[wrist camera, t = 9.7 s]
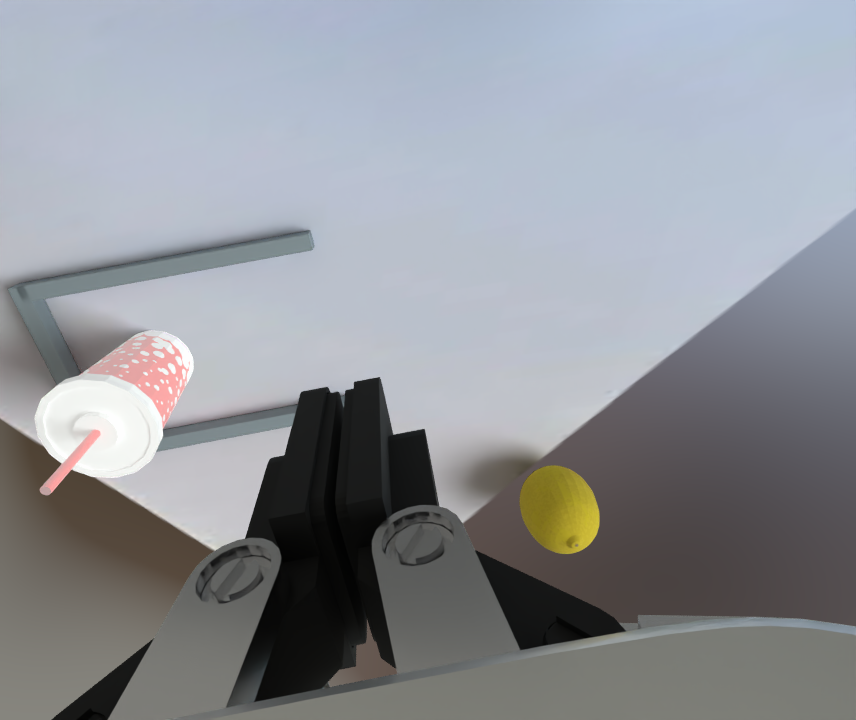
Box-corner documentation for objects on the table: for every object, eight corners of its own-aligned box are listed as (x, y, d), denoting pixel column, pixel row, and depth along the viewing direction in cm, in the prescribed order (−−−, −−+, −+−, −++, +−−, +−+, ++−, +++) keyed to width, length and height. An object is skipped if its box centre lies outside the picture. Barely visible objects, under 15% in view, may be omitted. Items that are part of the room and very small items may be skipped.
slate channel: (310, 230, 34) (308, 234, 33) (354, 406, 39) (354, 414, 38) (19, 283, 33) (7, 288, 32) (104, 453, 39) (97, 463, 38)
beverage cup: (168, 303, 35) (53, 409, 22) (223, 377, 37) (148, 510, 25) (90, 344, 36) (-66, 469, 23) (149, 414, 38) (39, 562, 25)
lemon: (588, 475, 44) (630, 546, 37) (533, 512, 45) (565, 588, 38) (551, 433, 42) (589, 499, 35) (495, 473, 43) (521, 545, 36)
